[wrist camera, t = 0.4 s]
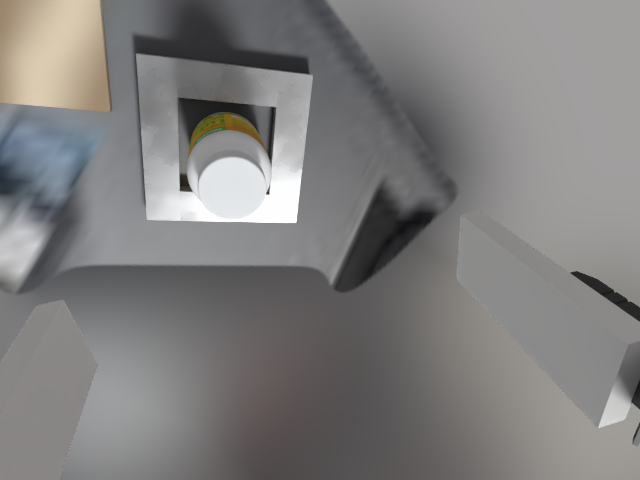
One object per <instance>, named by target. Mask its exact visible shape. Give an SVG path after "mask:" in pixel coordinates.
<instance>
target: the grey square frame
mask: <svg viewBox="0 0 640 480" xmlns="http://www.w3.org/2000/svg"><path fill="white" fill-rule="evenodd" d="M136 60H137V75H138V91H139V106H140V121H141V137H142V152H143V167H144V183H145V198H146V214H147V220H173V221H225V222H278V223H296V218H297V210H298V201H299V192H300V184H301V175H302V166H303V158H304V149H305V140H306V132H307V123H308V114H309V105H310V97H311V88H312V79H313V75H311V74H309V73H301V72H293V71H285V70H277V69H269V68H260V67H252V66H244V65H236V64H228V63H220V62H211V61H203V60H195V59H187V58H179V57H171V56H163V55H154V54H146V53H137V54H136ZM179 98H188V99H199V100H209V101H219V102H230V103H240V104H250V105H261V106H271V107H274V114H273V127H272V140H271V153H270V163H271V168H272V177H271V183H270V186H269V188H268V190H267V192H266V197H265V200H264V202H263V204H262V205H261V207H260V208H259V209H258V210H257V211H256V212H254V213H253V214H252V215H250V216H248V217H246V218H242V219H237V220H228V219H223V218H220V217H218V216H216V215H214V214H212V213H211V212H209V211H208V210H207V209H206V208H205V207H204V205H203V204H202V202H201V201H200V200H199V199H198V198H197V197H196V195H195V194H194V193H193V191H192V189H191V187H190V186H181V181H180V138H179Z"/></svg>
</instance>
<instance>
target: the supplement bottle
mask: <svg viewBox="0 0 640 480" xmlns="http://www.w3.org/2000/svg"><path fill="white" fill-rule="evenodd" d="M271 177H272V168H271V163H270V159H269V157H268V154H267V152H266V150H265V147H264V145H263V143H262V141H261V138H260V136H259V134H258V132H257V130H256V129H255V127H254V126H253V125H252V124H251V123H250V122H249V121H248V120H247V119H246V118H244V117H242V116H240V115H238V114H235V113H231V112H218V113H214V114H211V115H209V116H207V117H205V118H204V119H203V120H202V121H201V122H199V124H198V125H197V126H196V128H195V130H194V132H193V134H192V137H191V142H190V148H189V155H188V161H187V178H188V182H189V185H190V187H191V189H192V191H193V193H194V194H195V195H196V197H197V198H198V199H199V200H200V201H201V202H202V204H203V205H204V207H205V208H206V209H207V210H208V211H209V212H211V213H212V214H214V215H216V216H218V217H220V218H223V219H228V220H237V219H242V218H246V217H248V216H250V215H252V214H253V213H254V212H256V211H257V210H258V209H259V208H260V207H261V205H262V204H263V202H264V200H265V197H266V192H267V190H268V188H269V186H270V183H271Z"/></svg>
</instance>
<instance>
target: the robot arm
mask: <svg viewBox="0 0 640 480" xmlns="http://www.w3.org/2000/svg"><path fill="white" fill-rule="evenodd" d="M456 278H457V280H458V281H459V282H460V283H461V285H462V286H463V287H464V288H465V289H467V291H468V292H469V293H470V294H471V295H472V296H473V297H474V298H475V299H476V300H477V301H478V303H479V304H480V305H481V306H482V307H483V308H484V309H485V310H486V311H487V312H488V313H489V314H490V315H491V316H492V317H493V318H494V319H495V320H496V321H497V322H498V324H499V325H500V326H501V327H502V328H503V329H504V330H505V331H506V332H507V333H508V334H509V335H510V336H511V337H512V338H513V339H514V340H515V341H516V342H517V344H518V345H519V346H520V347H521V348H522V349H523V350H524V351H525V352H526V353H527V354H528V355H529V356H530V357H531V358H532V359H533V360H534V361H535V362H536V363H537V364H538V366H539V367H540V368H541V369H542V370H543V371H544V372H545V373H546V374H547V375H548V376H549V377H550V378H551V379H552V380H553V381H554V382H555V383H556V384H557V386H558V387H559V388H560V389H561V390H562V391H563V392H564V393H565V394H566V395H567V396H568V397H569V398H570V399H571V400H572V401H573V403H575V405H576V406H577V407H578V408H579V409H580V410H581V411H582V412H583V413H584V414H585V415H586V416H587V417H588V418H589V419H590V420H591V421H592V422H593V424H594V425H595V426H596V427H597V428H600V427H603V426H606V425H609V424H612V423H616V422H619V421H622V420H625V418H626V416H627V413H628V411H629V409H630V406H631V404H632V403H633V404H634V405H635V406H637V407H638V408H639V409H640V308H639V307H638V306H637V305H635V304H634V303H632V302H628V301H627V299H626V298H625V297H623V296H622V295H620V294H619V293H617V292H616V293H615V292H614V290H613V289H611V288H609V287H608V286H607V285H605V284H604V283H602V282H601V281H599V280H598V279H595V278H593V277H590V276H588V275H585V274H583V273H580V272H578V271H576V272H571V273H569V272H568V271H566V270H565V269H563V268H562V267H561V266H559V265H558V264H556V263H555V262H553V261H552V260H551V259H549V258H548V257H546V256H545V255H543V254H542V253H541V252H539V251H538V250H536V249H535V248H533V247H532V246H531V245H529V244H528V243H526V242H525V241H523V240H522V239H521V238H519V237H517V236H516V235H515V234H513V233H512V232H511V231H509V230H507V229H506V228H505V227H503V226H502V225H501V224H499V223H498V222H496V221H495V220H493V219H492V218H491V217H489V216H488V215H486V214H485V213H483V212H482V211H477V212H473V213H468V214H463V215H461V220H460V234H459V249H458V263H457V277H456ZM97 366H98V364H97V362H96V360H95V358H94V356H93V355H92V353H91V351H90V349H89V347H88V345H87V343H86V341H85V339H84V338H83V336H82V334H81V332H80V330H79V328H78V326H77V324H76V323H75V321H74V319H73V317H72V315H71V313H70V312H69V310H68V308H67V306H66V304H65V302H64V300H60V301H56V302H51V303H46V304H41V305H37V306H36V307H35V308H34V310H33V312H32V313H31V315H30V316H29V318H28V319H27V321H26V323H25V324H24V326H23V328H22V329H21V331H20V332H19V334H18V335H17V337H16V338H15V340H14V342H13V343H12V345H11V347H10V348H9V350H8V351H7V353H6V354H5V356H4V358H3V359H2V361H1V363H0V480H59V478H60V474H61V472H62V469H63V466H64V463H65V460H66V457H67V454H68V451H69V448H70V445H71V442H72V439H73V436H74V433H75V430H76V427H77V425H78V421H79V419H80V416H81V413H82V410H83V407H84V404H85V401H86V398H87V395H88V392H89V389H90V386H91V383H92V380H93V378H94V375H95V372H96V369H97ZM639 443H640V423H639V426H638V428H637V430H636V433H635V435H634V437H633V445H636V446H638V445H639Z"/></svg>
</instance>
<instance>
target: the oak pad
mask: <svg viewBox="0 0 640 480" xmlns="http://www.w3.org/2000/svg"><path fill="white" fill-rule="evenodd" d="M0 103H12V104H24V105H35V106H47V107H59V108H71V109H83V110H95V111H106V112H111V111H112V103H111V93H110V82H109V71H108V61H107V50H106V40H105V29H104V19H103V8H102V0H0Z"/></svg>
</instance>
